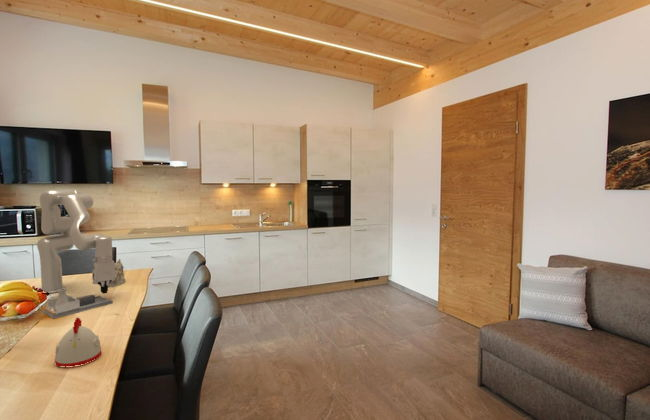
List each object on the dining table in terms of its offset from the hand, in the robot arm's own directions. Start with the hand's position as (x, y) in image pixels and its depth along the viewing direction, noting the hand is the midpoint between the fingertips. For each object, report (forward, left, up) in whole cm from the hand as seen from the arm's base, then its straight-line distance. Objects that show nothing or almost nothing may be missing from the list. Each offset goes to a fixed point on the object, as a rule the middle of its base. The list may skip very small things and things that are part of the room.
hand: (104, 292), depth 188 cm
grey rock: (-30, +16, -5) cm, 35 cm away
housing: (+1, -15, -3) cm, 15 cm away
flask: (+1, -19, -3) cm, 20 cm away
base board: (+1, -12, -4) cm, 13 cm away
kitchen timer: (+57, -33, -5) cm, 66 cm away
